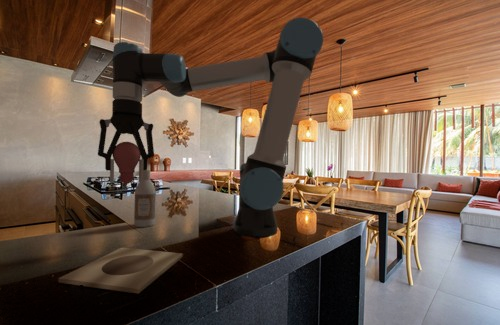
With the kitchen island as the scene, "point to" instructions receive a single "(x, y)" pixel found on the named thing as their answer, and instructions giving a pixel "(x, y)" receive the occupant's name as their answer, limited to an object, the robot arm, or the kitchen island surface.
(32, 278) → the kitchen island surface
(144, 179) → the bath foam
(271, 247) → the kitchen island surface
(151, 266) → the seat board
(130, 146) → the dark red bulb shape
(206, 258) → the kitchen island surface
